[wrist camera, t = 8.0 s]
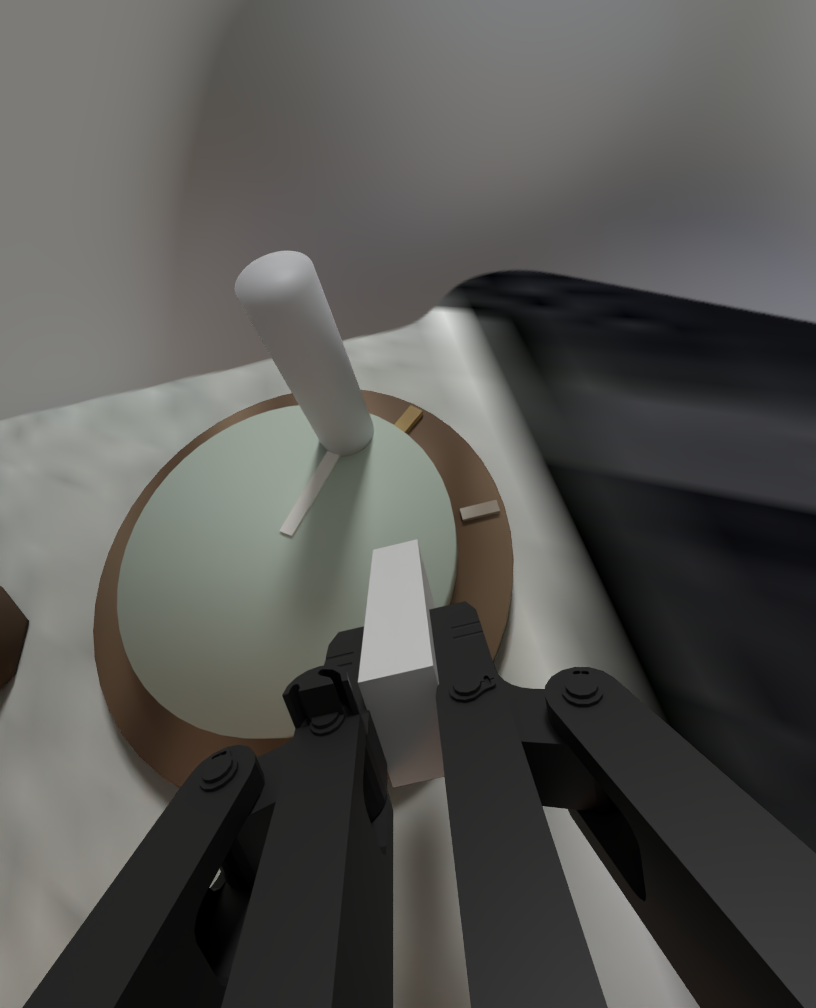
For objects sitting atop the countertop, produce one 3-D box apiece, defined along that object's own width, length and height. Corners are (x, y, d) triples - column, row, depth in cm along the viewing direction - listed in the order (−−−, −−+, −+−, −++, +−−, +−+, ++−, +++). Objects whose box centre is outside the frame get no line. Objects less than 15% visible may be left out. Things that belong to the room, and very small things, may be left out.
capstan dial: (359, 817, 18) (208, 906, 8) (76, 642, 23) (-217, 573, 13) (507, 471, 23) (518, 288, 14) (253, 393, 28) (134, 221, 19)
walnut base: (84, 853, 20) (54, 861, 18) (131, 449, 30) (113, 435, 28) (578, 748, 18) (584, 749, 17) (455, 365, 28) (453, 346, 27)
